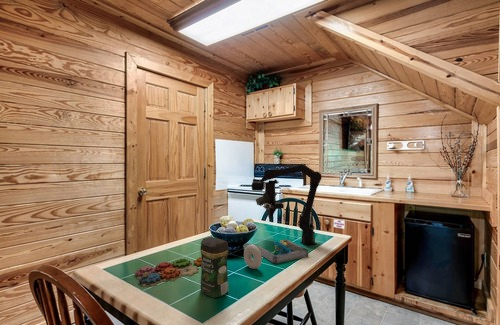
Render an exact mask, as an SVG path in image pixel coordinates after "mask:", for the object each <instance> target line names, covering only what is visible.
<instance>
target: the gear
mask: <svg viewBox="0 0 500 325" xmlns="http://www.w3.org/2000/svg"><path fill="white" fill-rule="evenodd" d="M273 243H274V246H273V247H274V251H273V252H272V254H274V255H275V253H276V252H278V254H277V255H279V254H283V253H289V252H293V250H291V249H289V248H286V245H283V244H282V243H281V242H280V241H278V240H274V242H273Z"/></svg>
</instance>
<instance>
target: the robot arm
mask: <svg viewBox="0 0 500 325" xmlns="http://www.w3.org/2000/svg"><path fill="white" fill-rule="evenodd" d="M296 173H303V174H304V175H305V176H307V177H309V190H308V193H307V194H308V195H307V198H306V203H305V206H304V211H303V213H300V215H299V217H298V218H299V220H298V221H297V223H298V228H299V229H300V230H301V231H302V232H301V240H300V243H301V244H302V245H305V246H314V245H317V244H318V243H317V242H316V240H315V239H316V233H315V232H316V231H315V225H313V224H312V222H311V221H312V220H311V219H312V209H313V205H314V202H315V197H316V193H317V189H318V188H319V184H320V183H321V181H322V177H323V176H322V173H321V172H320V171H318V170H317V171H315V170H314V169H312V168H310V167H308V166H307V165H306V164H302V163H301V164H300V165H294V166H290V167H285V168H269V169H266V170H265V171H264V173H263V176H262V178H261V179H260V178H259V179H257V178H253V179H252V183H251V191H252V192H253V191H254V192H263V190H264V192H263V195H262V196H259V197H257V198H256V199H255V202H256V205H257V206H259V207H263V209H265V210H266V213H267V217H268V219H269V220H272V218H273V216H274V214H275V212H276V210H280V209H284V206H285V205H284V203H282V202H279V201H277V200H276V196H277V194H278V193H277V192H276V184H279V183H280V182H279V181H278V180H277V179H276V178H279V177H281V176H285V175H286V176H287V175H291V174H296ZM273 179H274V180H273Z"/></svg>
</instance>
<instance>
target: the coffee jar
mask: <svg viewBox="0 0 500 325" xmlns="http://www.w3.org/2000/svg"><path fill="white" fill-rule="evenodd" d="M228 253H229V244H228V241H227V240H224V239H221V238H218V237H214V236H211V235H210V236H207V237H205V238H202V240H201V242H200V257H202V266H201V268H200V269H201V270H200V271H201V272H200V274H201V275H200V291H201V292H202V293H203V294H204V295H206V296H208V297H210V298H214V299H215V298H220V297H223V296H225V295H226V294H227V293H229V278H228V277H229V276H228Z"/></svg>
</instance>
